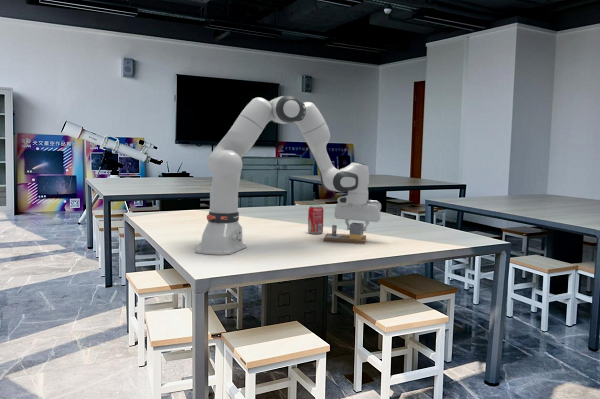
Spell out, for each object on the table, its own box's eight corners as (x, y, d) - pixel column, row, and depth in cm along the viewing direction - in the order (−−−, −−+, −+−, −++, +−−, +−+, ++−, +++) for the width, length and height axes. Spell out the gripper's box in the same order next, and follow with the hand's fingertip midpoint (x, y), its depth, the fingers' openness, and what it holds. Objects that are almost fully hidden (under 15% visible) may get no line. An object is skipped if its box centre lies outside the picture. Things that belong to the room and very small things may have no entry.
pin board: (364, 244, 214) (365, 229, 214) (323, 241, 217) (323, 227, 216) (365, 238, 228) (366, 224, 227) (326, 235, 231) (327, 222, 230)
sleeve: (360, 238, 218) (361, 225, 218) (349, 237, 220) (350, 224, 219) (363, 236, 223) (363, 223, 222) (352, 235, 225) (352, 222, 224)
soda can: (325, 233, 237) (326, 206, 235) (315, 235, 232) (316, 207, 230) (314, 231, 242) (315, 204, 240) (304, 232, 237) (305, 205, 235)
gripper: (382, 200, 219) (381, 231, 221) (338, 197, 226) (336, 227, 228) (379, 201, 213) (378, 233, 215) (334, 198, 220) (332, 229, 222)
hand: (356, 230), depth 221 cm, fingers open, 5 cm apart
